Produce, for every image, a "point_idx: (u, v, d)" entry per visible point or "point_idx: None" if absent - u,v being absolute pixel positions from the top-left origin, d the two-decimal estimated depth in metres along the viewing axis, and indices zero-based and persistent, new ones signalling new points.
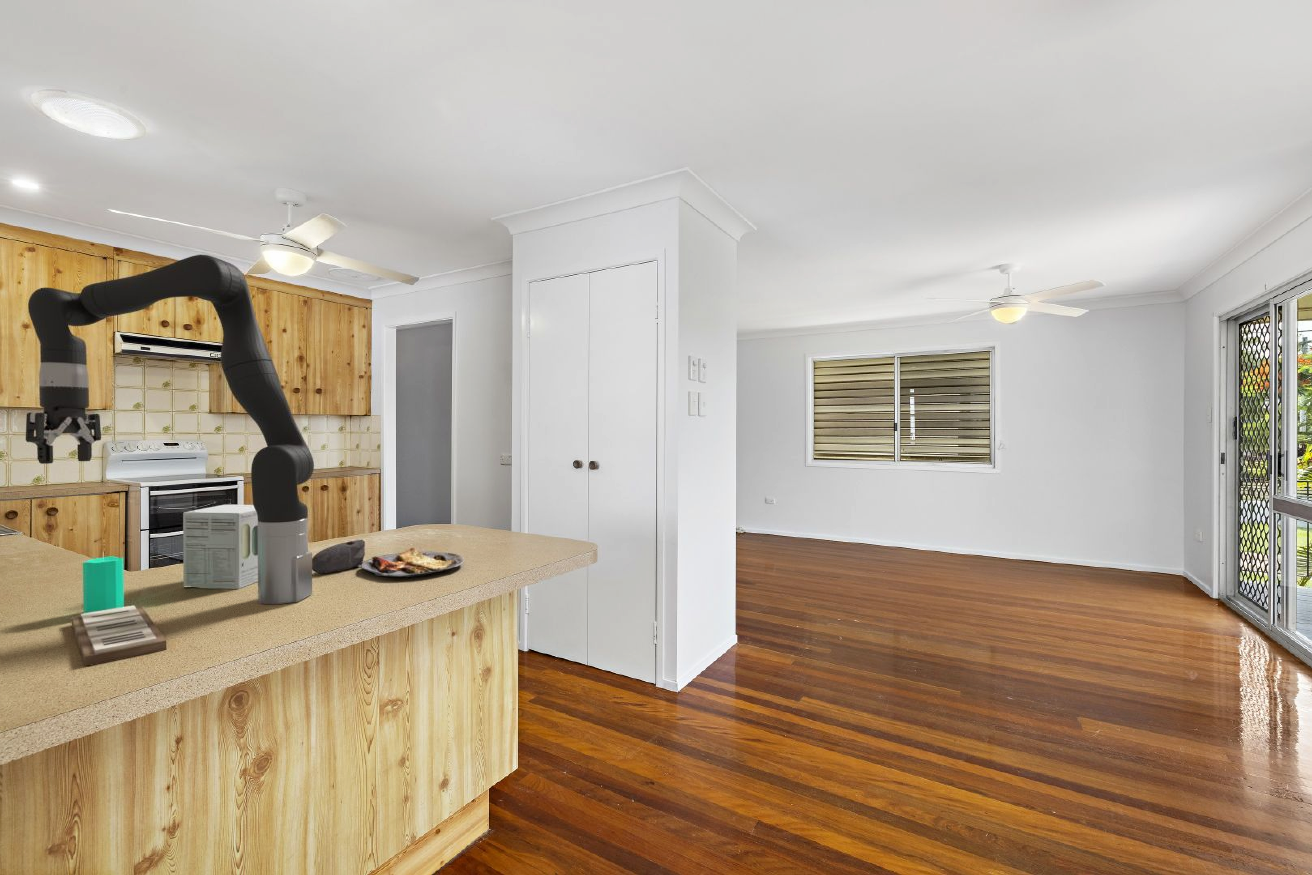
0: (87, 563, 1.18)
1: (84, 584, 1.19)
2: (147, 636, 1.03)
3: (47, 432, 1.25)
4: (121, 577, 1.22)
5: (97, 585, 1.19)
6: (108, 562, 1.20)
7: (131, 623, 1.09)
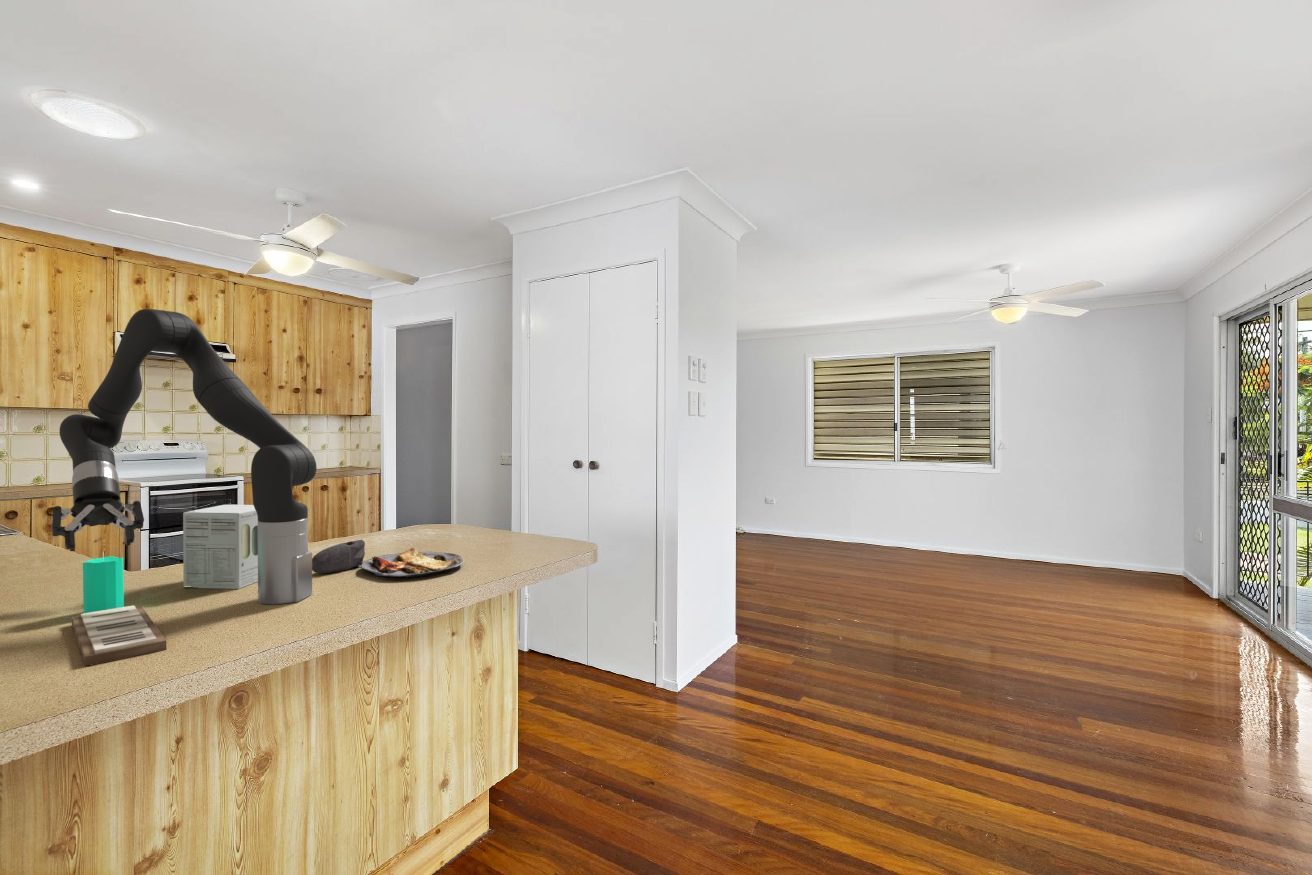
0: (87, 563, 1.18)
1: (84, 584, 1.19)
2: (147, 636, 1.03)
3: None
4: (121, 577, 1.22)
5: (97, 585, 1.19)
6: (108, 562, 1.20)
7: (131, 623, 1.09)
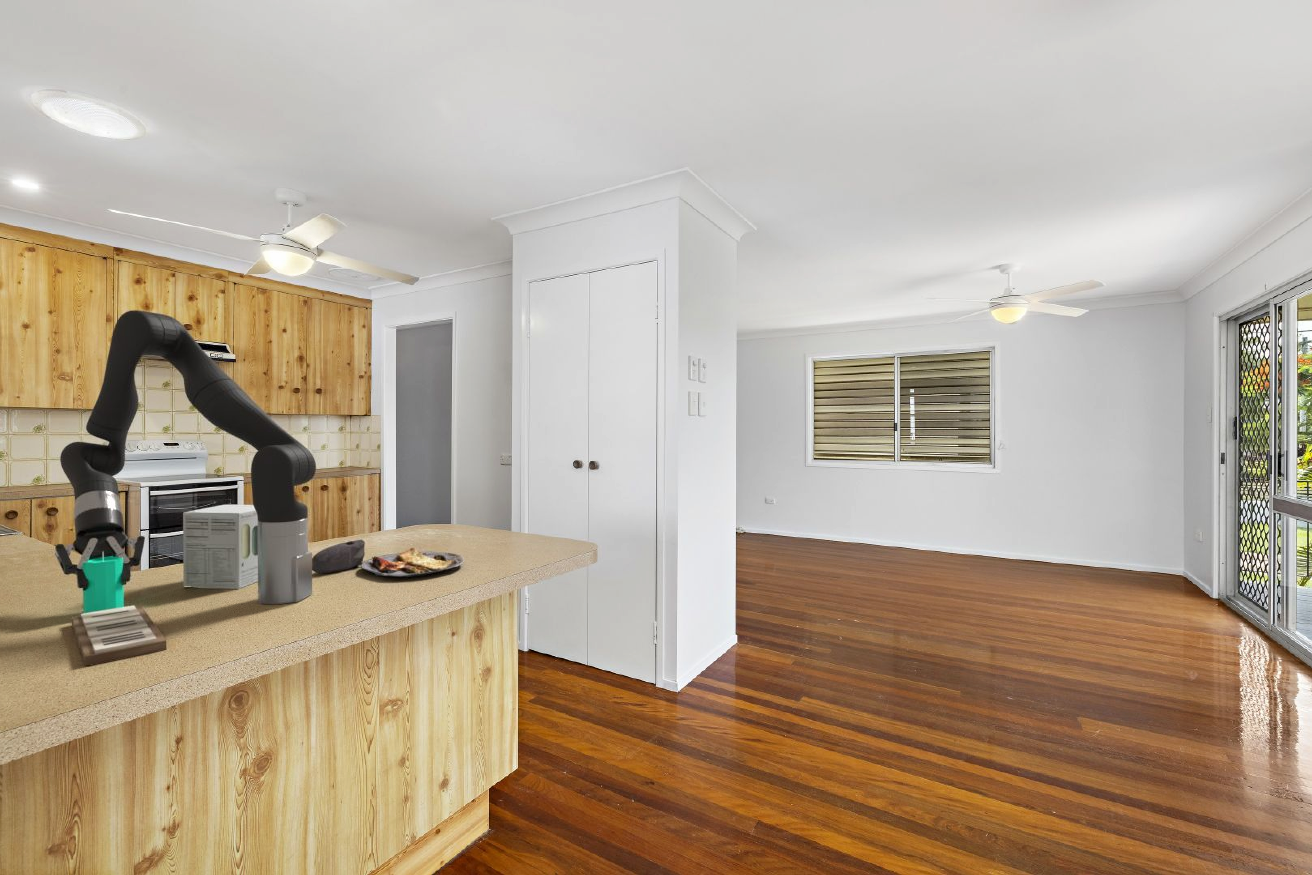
0: (87, 563, 1.18)
1: None
2: (147, 636, 1.03)
3: None
4: (121, 577, 1.22)
5: (97, 585, 1.19)
6: (108, 562, 1.20)
7: (131, 623, 1.09)
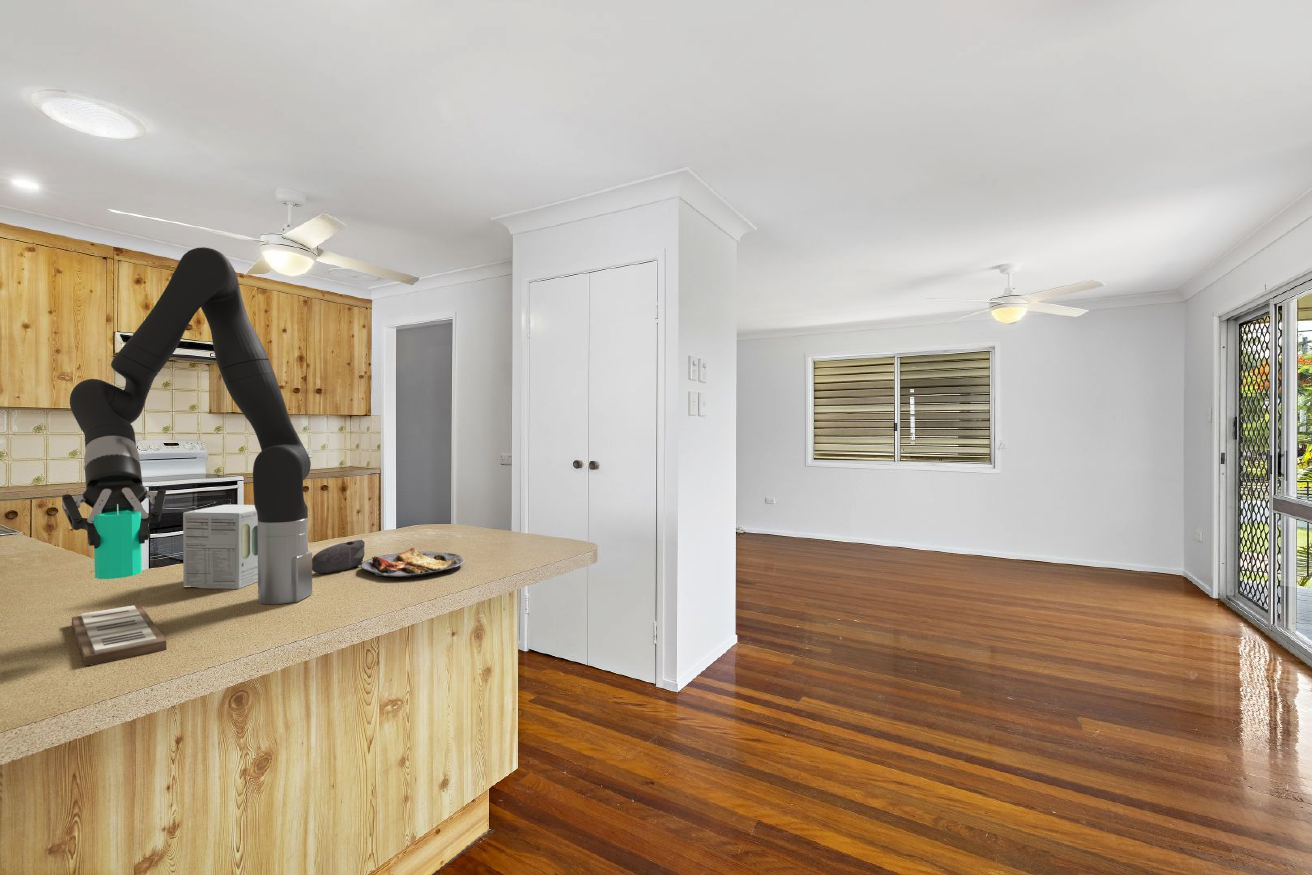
0: (99, 516, 1.00)
1: None
2: (147, 636, 1.03)
3: None
4: (138, 534, 1.04)
5: (110, 543, 1.00)
6: (123, 515, 1.01)
7: (131, 623, 1.09)
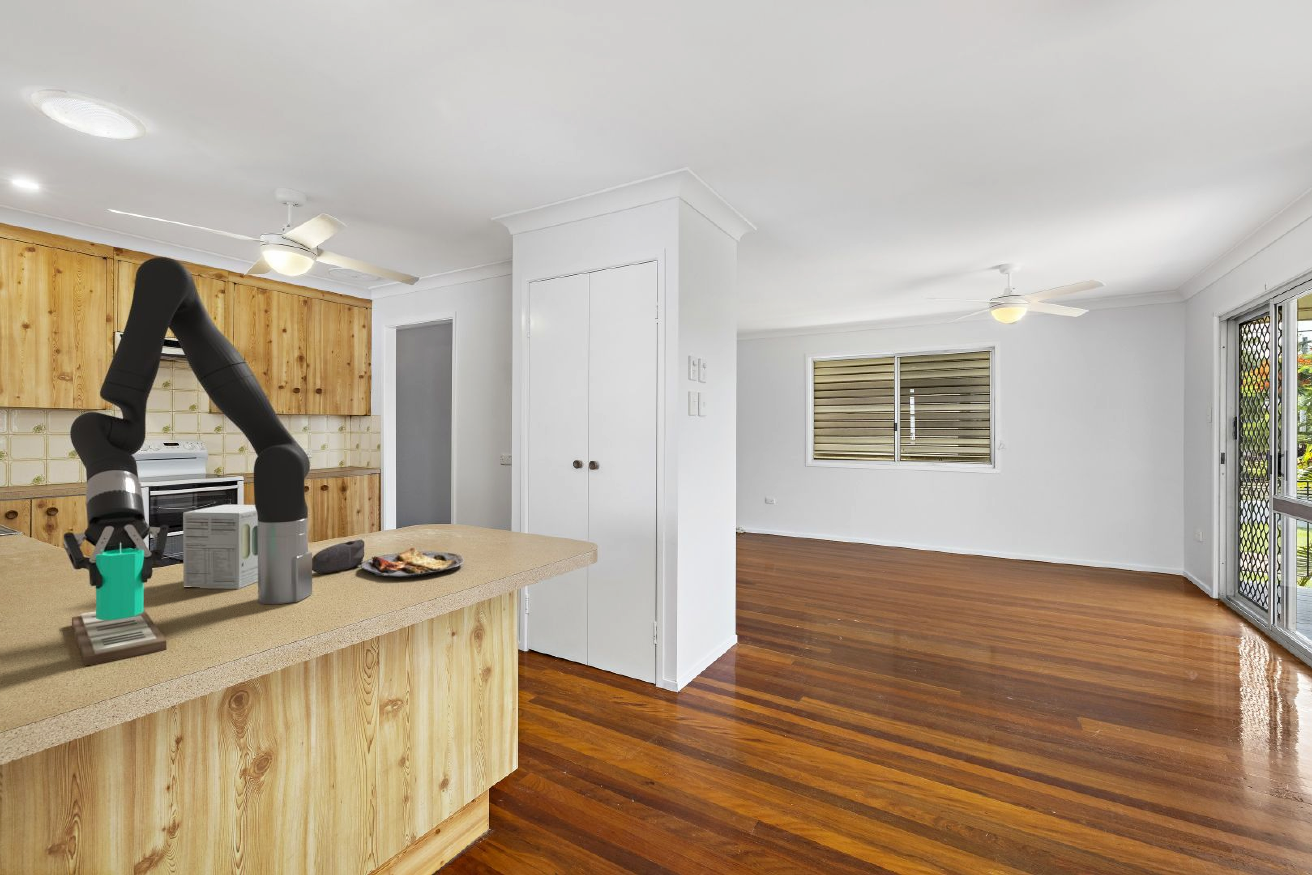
0: (101, 556, 0.98)
1: None
2: (147, 636, 1.03)
3: None
4: (141, 573, 1.02)
5: (113, 583, 0.99)
6: (126, 555, 1.00)
7: (131, 623, 1.09)
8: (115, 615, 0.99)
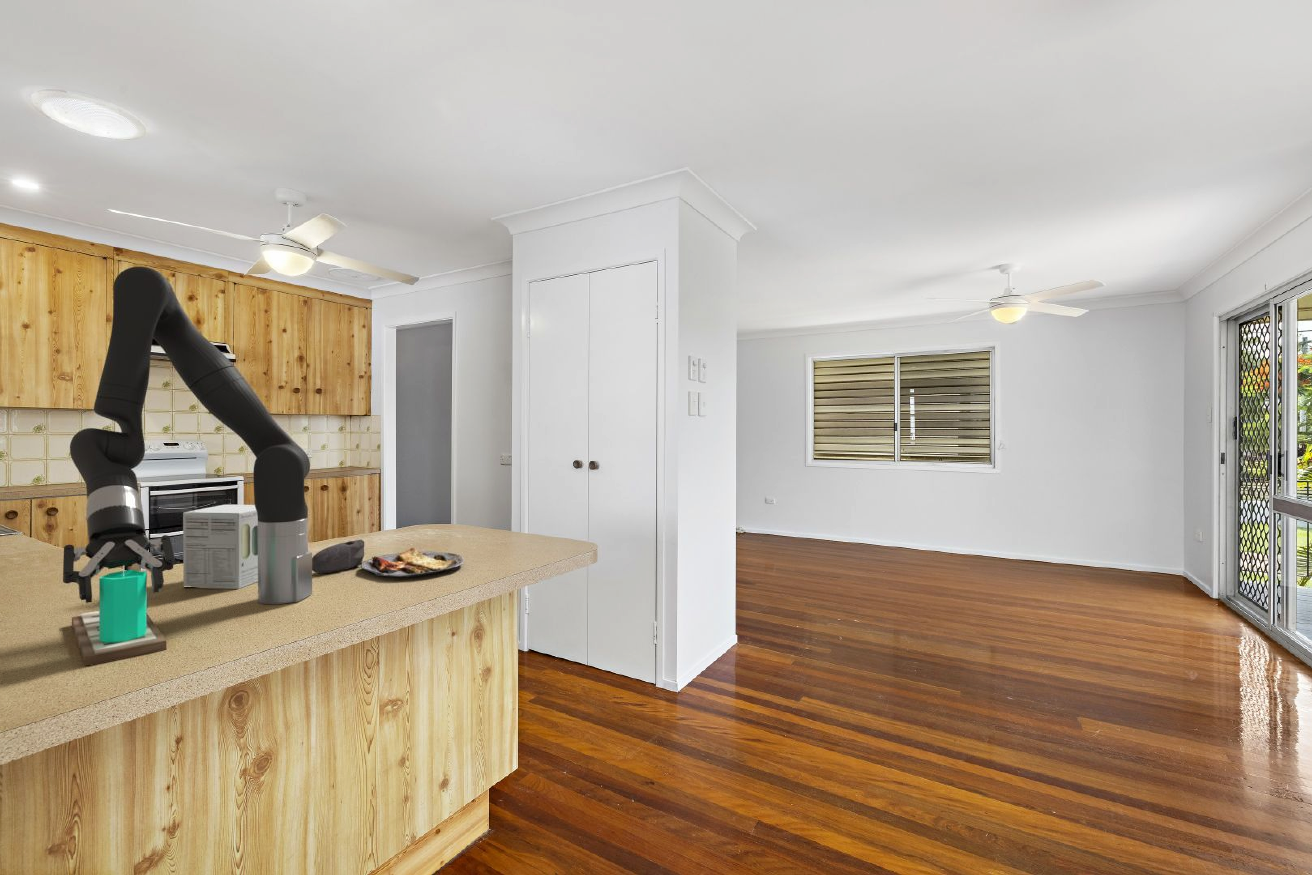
0: (104, 579, 0.99)
1: (100, 604, 1.00)
2: (147, 636, 1.03)
3: None
4: (144, 595, 1.03)
5: (116, 606, 1.00)
6: (129, 578, 1.00)
7: None
8: (118, 638, 1.00)
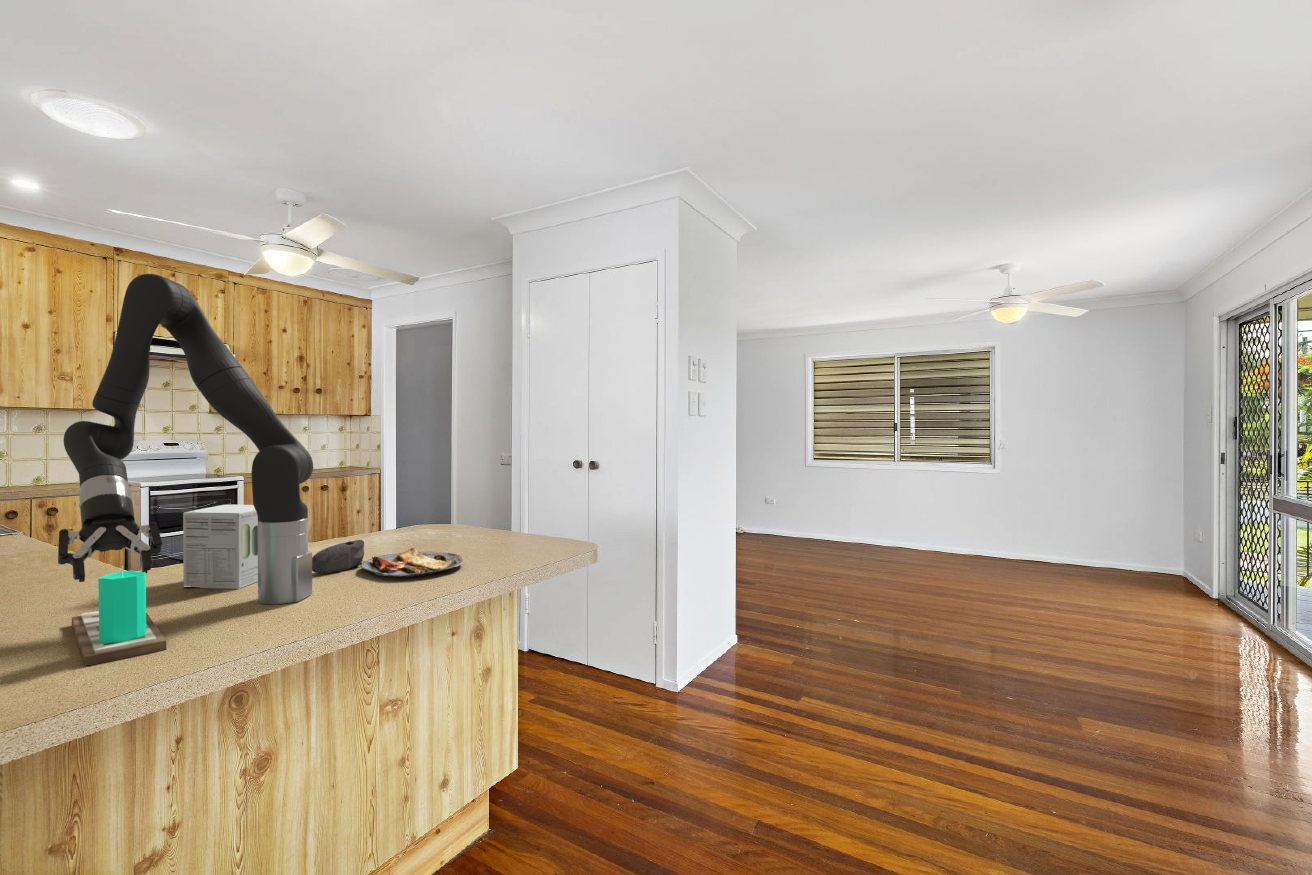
0: (103, 579, 0.99)
1: (100, 604, 1.00)
2: (147, 636, 1.03)
3: None
4: (143, 595, 1.03)
5: (115, 606, 1.00)
6: (128, 578, 1.01)
7: None
8: (118, 638, 1.00)
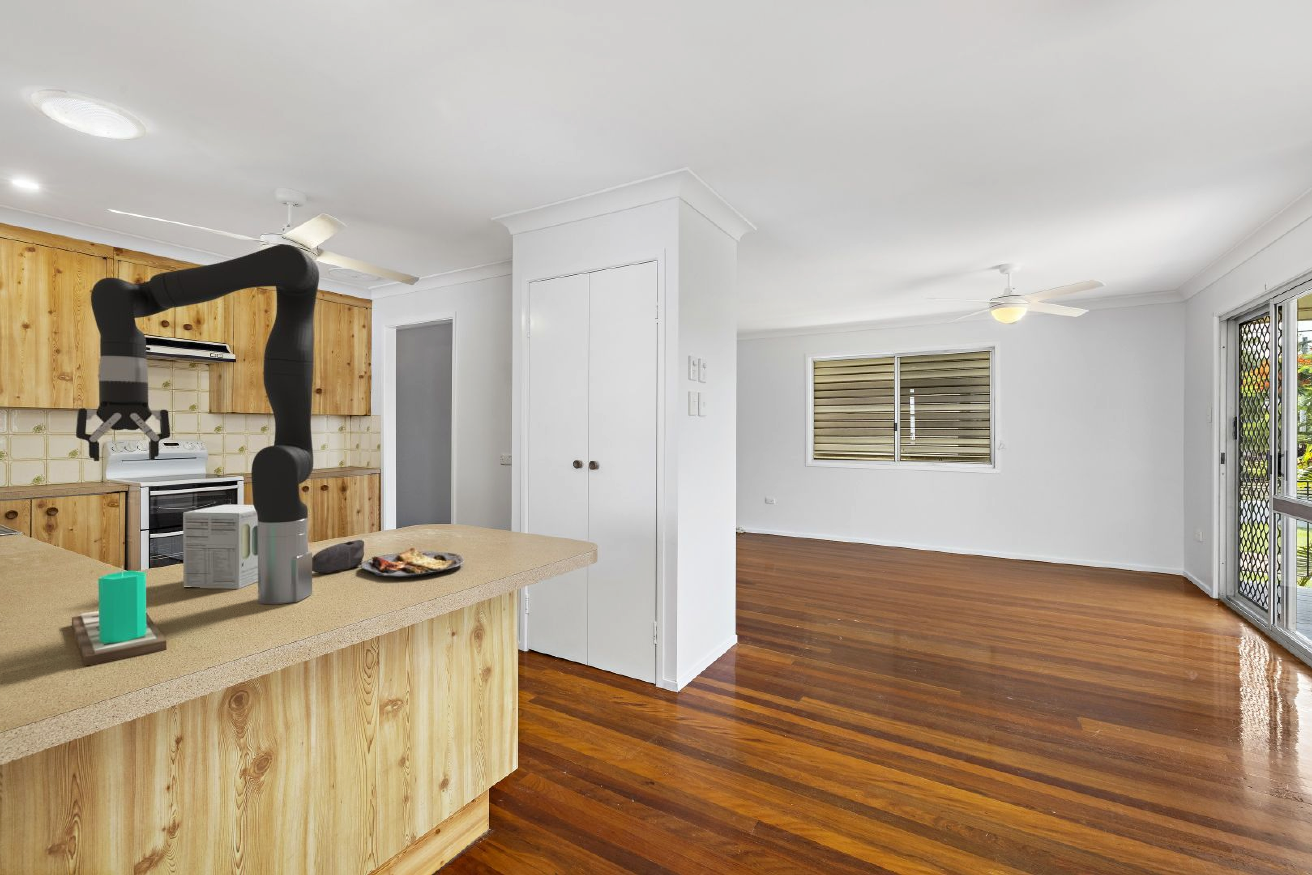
0: (103, 579, 0.99)
1: (100, 604, 1.00)
2: (147, 636, 1.03)
3: (98, 428, 1.21)
4: (143, 595, 1.03)
5: (115, 606, 1.00)
6: (128, 578, 1.01)
7: None
8: (118, 638, 1.00)
